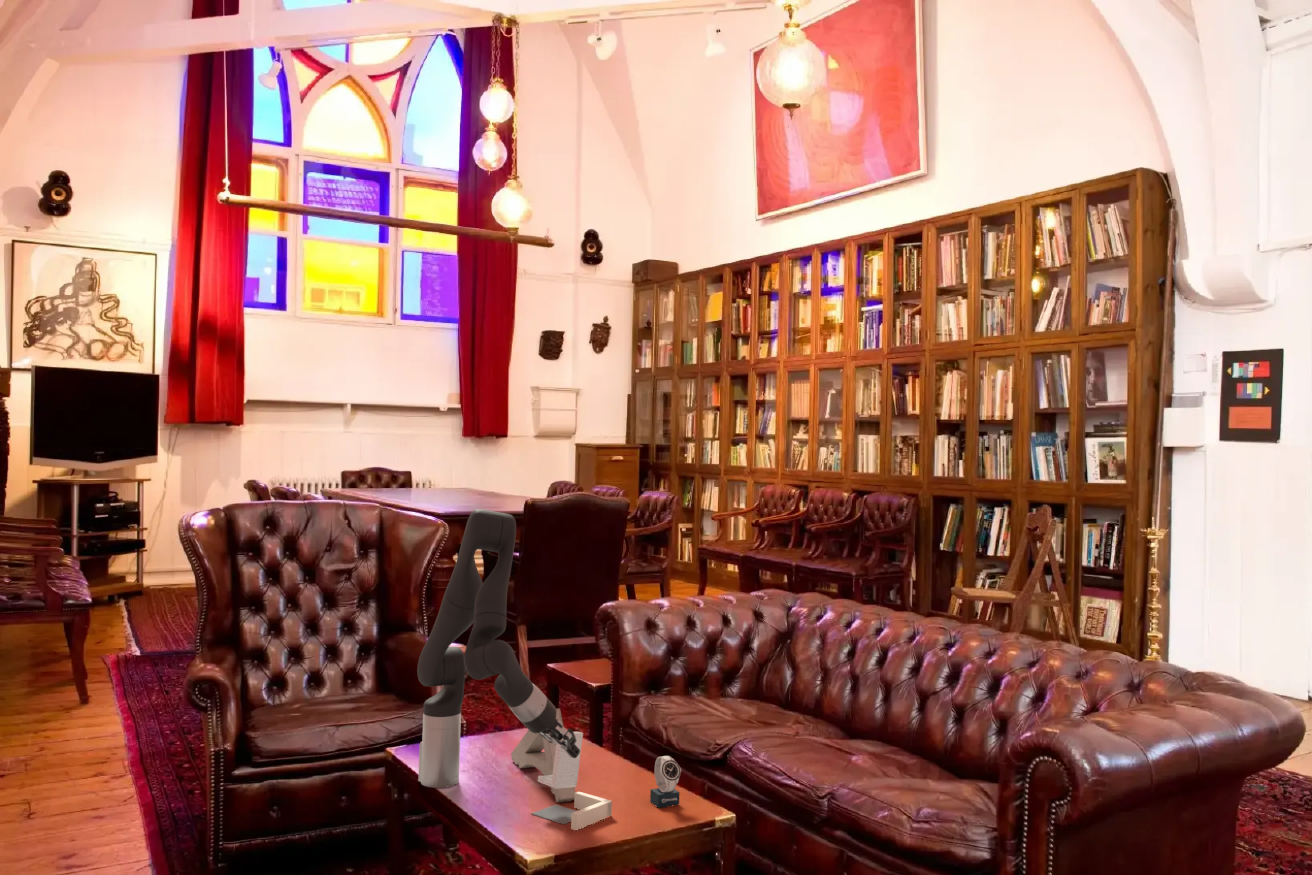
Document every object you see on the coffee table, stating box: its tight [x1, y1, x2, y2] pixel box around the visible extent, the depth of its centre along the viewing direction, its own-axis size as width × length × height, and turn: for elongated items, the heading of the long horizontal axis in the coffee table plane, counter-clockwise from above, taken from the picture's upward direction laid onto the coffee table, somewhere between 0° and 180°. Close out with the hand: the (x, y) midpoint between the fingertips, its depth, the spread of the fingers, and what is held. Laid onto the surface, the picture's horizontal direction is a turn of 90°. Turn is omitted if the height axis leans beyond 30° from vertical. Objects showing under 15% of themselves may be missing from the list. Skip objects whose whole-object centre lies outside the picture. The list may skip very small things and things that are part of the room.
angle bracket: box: [537, 731, 584, 789], centre depth 230 cm, size 7×6×12 cm
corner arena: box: [570, 791, 613, 831], centre depth 227 cm, size 10×12×4 cm
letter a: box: [510, 708, 576, 804], centre depth 253 cm, size 22×4×30 cm
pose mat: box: [531, 804, 577, 825], centre depth 229 cm, size 10×8×1 cm
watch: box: [649, 755, 682, 809], centre depth 238 cm, size 6×8×11 cm
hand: (573, 753), depth 229 cm, fingers closed on angle bracket
